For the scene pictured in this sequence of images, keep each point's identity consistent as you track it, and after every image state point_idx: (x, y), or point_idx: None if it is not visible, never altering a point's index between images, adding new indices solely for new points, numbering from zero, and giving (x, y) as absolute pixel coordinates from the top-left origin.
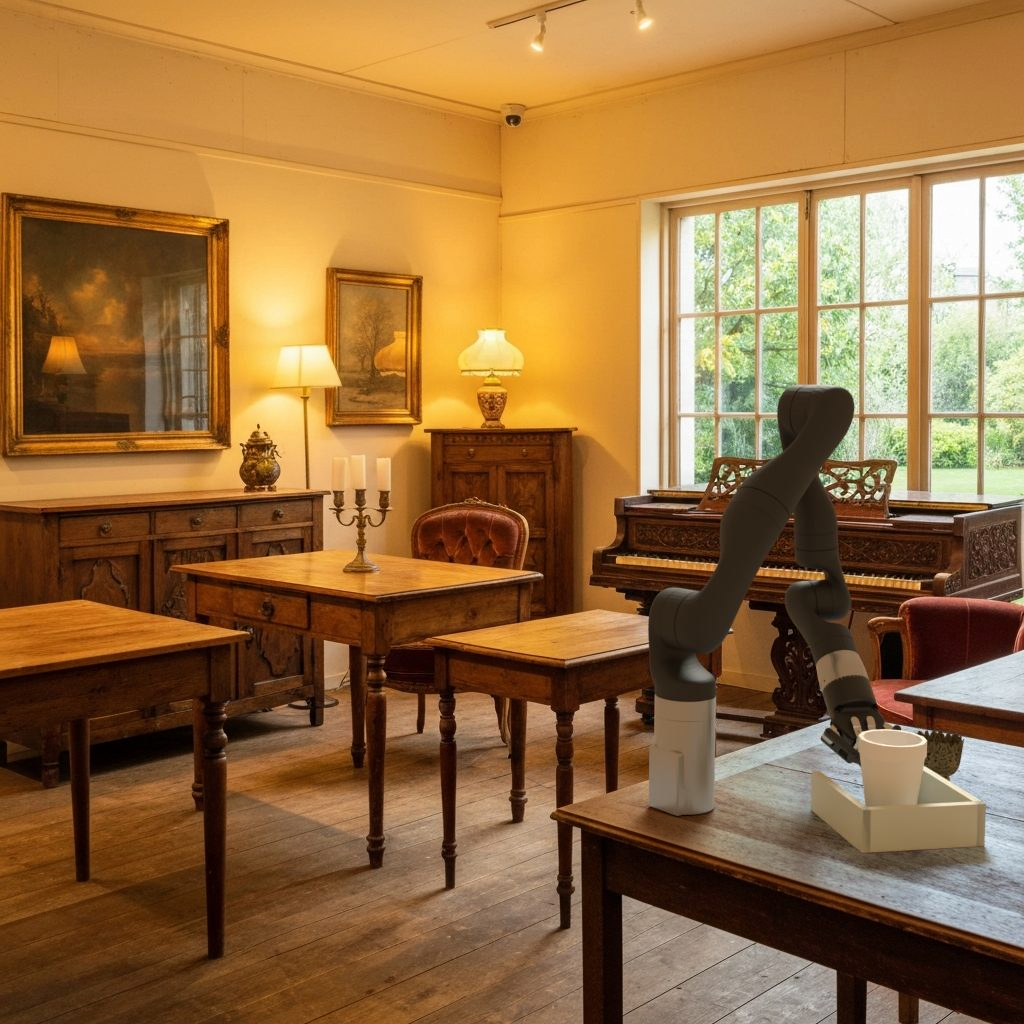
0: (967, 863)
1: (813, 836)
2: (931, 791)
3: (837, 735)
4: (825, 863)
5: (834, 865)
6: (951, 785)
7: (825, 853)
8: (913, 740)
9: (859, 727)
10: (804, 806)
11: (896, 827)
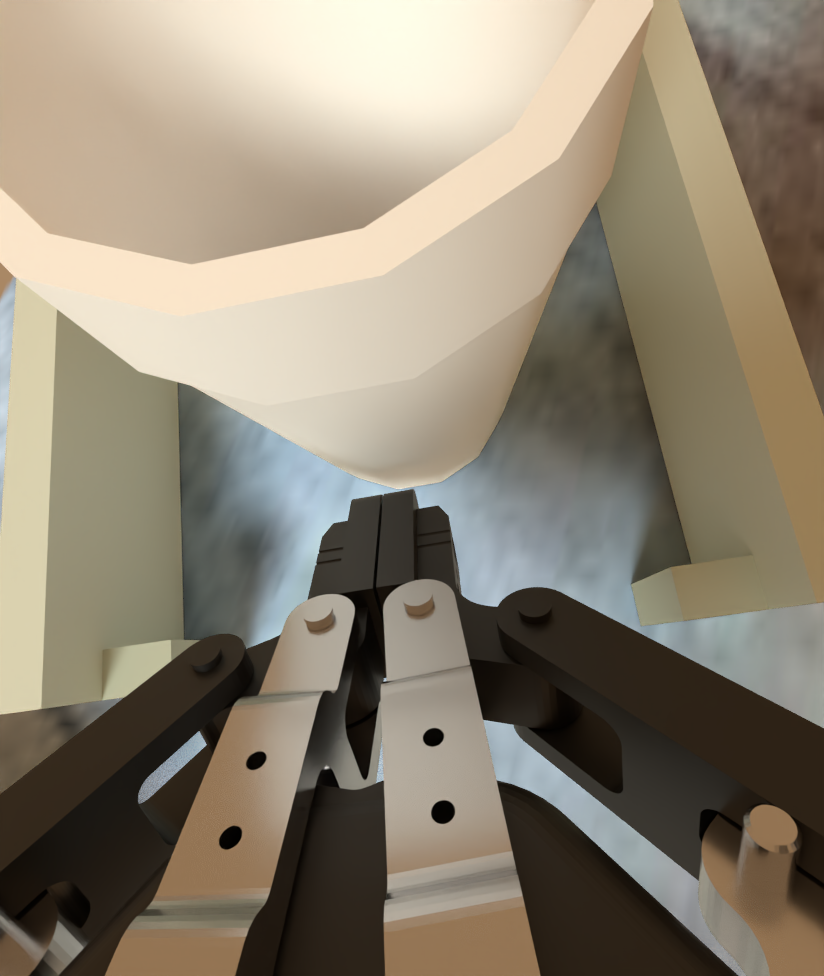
0: None
1: (780, 257)
2: (114, 510)
3: (761, 774)
4: (766, 15)
5: (734, 4)
6: (36, 315)
7: (752, 96)
8: (15, 164)
9: (408, 885)
10: (779, 671)
11: None
